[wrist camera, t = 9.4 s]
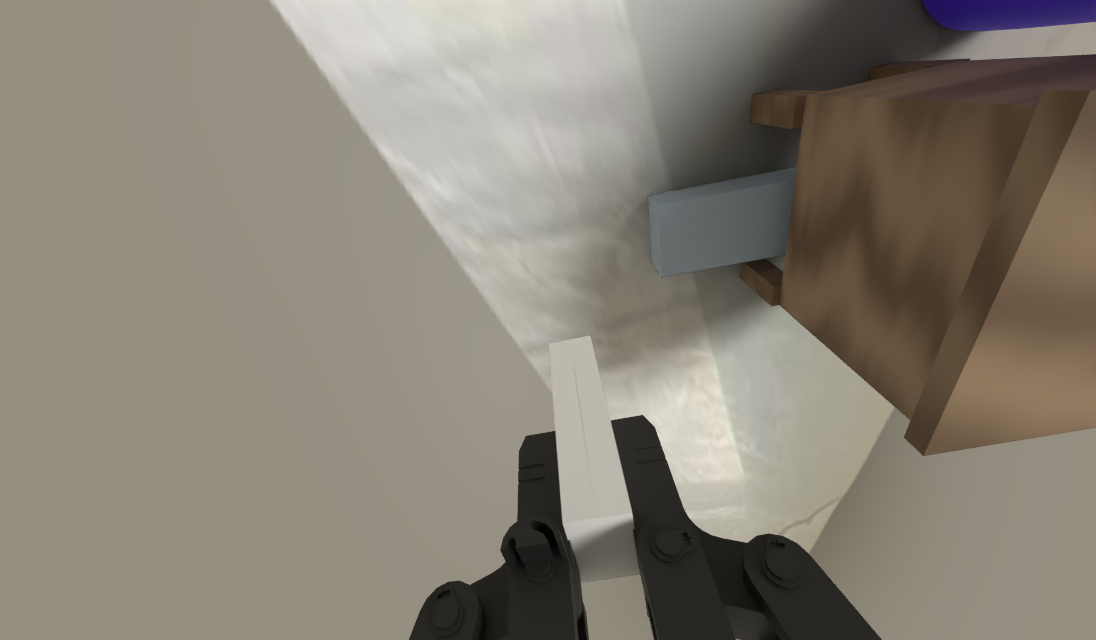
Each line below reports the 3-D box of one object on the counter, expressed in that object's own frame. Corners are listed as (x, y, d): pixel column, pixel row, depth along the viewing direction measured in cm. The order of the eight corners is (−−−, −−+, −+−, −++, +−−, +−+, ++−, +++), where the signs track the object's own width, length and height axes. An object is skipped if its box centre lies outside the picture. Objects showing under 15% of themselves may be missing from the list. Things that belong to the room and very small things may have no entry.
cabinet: (752, 85, 24) (1090, 90, 9) (899, 52, 23) (1486, 5, 9) (739, 283, 31) (923, 456, 16) (852, 261, 30) (1140, 420, 16)
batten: (646, 194, 27) (658, 205, 25) (869, 151, 26) (906, 158, 24) (649, 260, 30) (661, 277, 27) (852, 223, 29) (884, 236, 26)
